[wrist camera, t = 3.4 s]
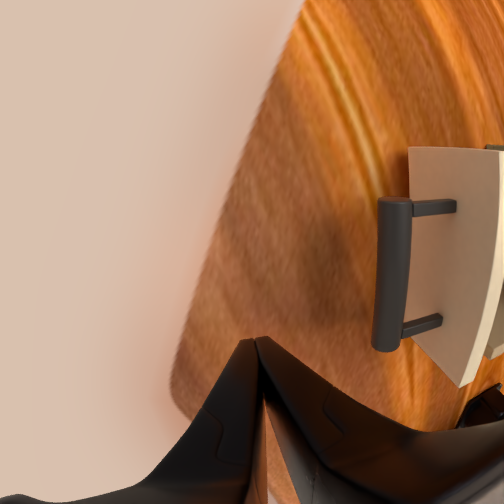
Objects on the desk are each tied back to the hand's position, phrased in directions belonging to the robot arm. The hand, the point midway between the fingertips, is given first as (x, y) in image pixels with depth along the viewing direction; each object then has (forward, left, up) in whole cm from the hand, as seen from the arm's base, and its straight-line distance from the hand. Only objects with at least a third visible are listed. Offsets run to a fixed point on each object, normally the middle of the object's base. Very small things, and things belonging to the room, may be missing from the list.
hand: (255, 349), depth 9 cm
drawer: (0, -15, -7) cm, 16 cm away
